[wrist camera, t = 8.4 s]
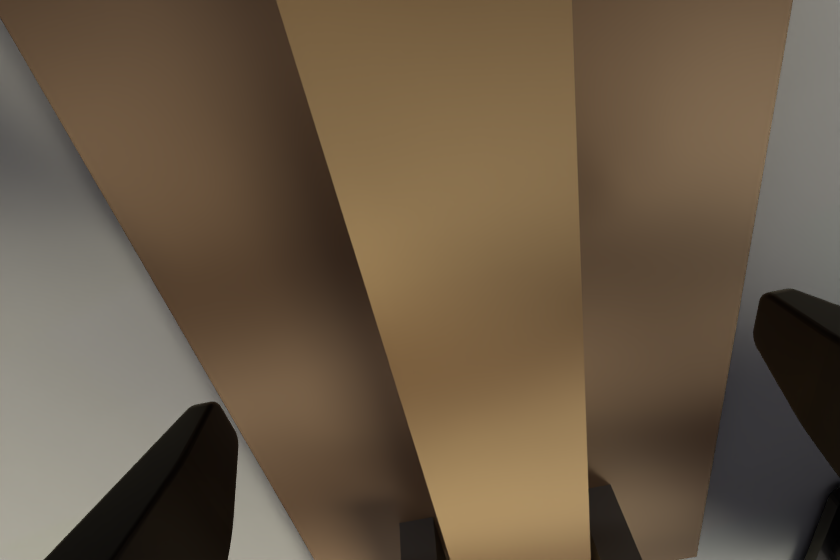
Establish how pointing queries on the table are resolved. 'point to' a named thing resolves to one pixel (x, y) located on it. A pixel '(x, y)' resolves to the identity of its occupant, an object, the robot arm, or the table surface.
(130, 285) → the table surface
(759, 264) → the table surface
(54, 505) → the table surface
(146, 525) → the robot arm
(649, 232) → the endcap frame
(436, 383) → the slat
